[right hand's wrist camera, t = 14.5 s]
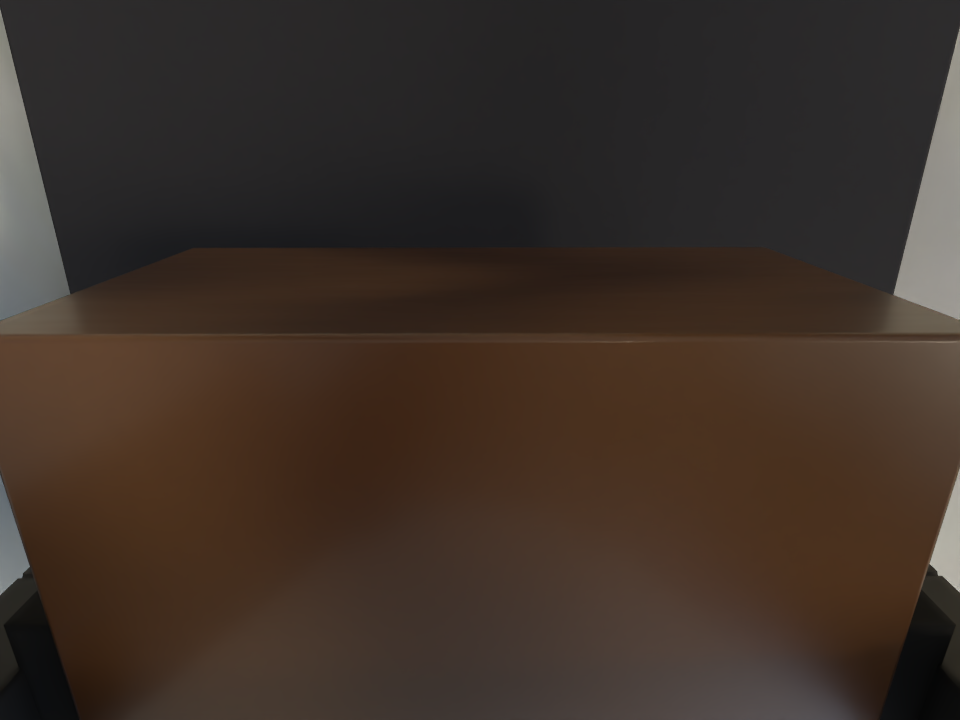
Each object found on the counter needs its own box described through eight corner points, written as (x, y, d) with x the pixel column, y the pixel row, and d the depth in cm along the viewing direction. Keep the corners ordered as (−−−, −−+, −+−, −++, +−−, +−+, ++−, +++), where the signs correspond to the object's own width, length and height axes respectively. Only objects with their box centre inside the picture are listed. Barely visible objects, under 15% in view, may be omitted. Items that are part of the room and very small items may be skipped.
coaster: (953, -22, 13) (975, -29, 12) (784, 683, 20) (793, 699, 19) (10, -21, 13) (-11, -28, 12) (177, 682, 20) (169, 698, 19)
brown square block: (767, 246, 10) (1006, 334, 6) (695, 679, 14) (807, 956, 9) (191, 246, 10) (-49, 335, 6) (263, 680, 14) (152, 959, 9)
